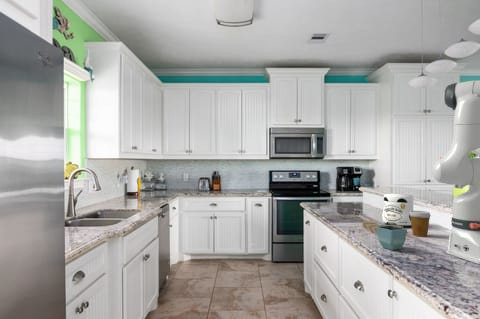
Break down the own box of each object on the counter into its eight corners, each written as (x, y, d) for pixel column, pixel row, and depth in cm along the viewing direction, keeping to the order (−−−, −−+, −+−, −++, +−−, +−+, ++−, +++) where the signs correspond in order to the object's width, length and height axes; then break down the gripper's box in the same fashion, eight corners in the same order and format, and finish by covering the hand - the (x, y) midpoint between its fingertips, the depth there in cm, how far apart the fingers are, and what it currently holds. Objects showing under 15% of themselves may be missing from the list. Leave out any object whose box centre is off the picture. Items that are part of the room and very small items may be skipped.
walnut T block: (413, 237, 154) (413, 231, 154) (381, 237, 154) (381, 231, 154) (389, 226, 178) (389, 221, 178) (362, 226, 178) (362, 221, 178)
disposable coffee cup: (435, 236, 154) (435, 212, 154) (421, 238, 151) (421, 214, 151) (418, 232, 163) (418, 210, 163) (405, 234, 160) (404, 211, 160)
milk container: (384, 227, 176) (384, 196, 176) (380, 222, 193) (380, 193, 193) (418, 229, 171) (418, 197, 171) (411, 223, 188) (411, 194, 188)
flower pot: (390, 244, 140) (390, 225, 140) (407, 250, 131) (407, 228, 131) (375, 246, 136) (375, 226, 136) (392, 252, 128) (392, 230, 128)
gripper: (457, 163, 168) (439, 181, 168) (487, 164, 147) (467, 184, 147) (465, 172, 168) (447, 190, 168) (497, 173, 147) (477, 194, 147)
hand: (457, 187), depth 157 cm, fingers closed
